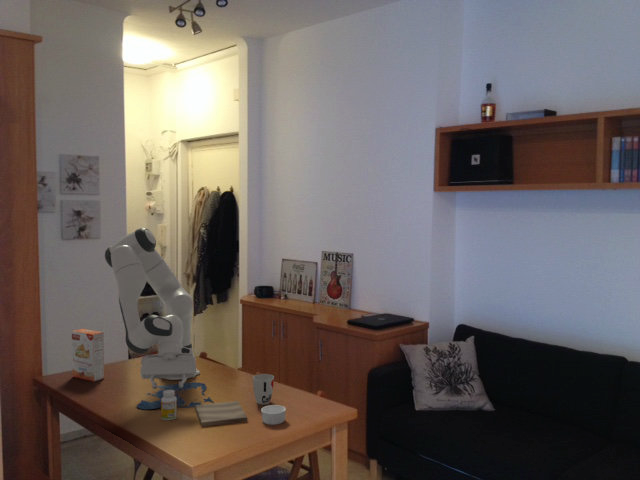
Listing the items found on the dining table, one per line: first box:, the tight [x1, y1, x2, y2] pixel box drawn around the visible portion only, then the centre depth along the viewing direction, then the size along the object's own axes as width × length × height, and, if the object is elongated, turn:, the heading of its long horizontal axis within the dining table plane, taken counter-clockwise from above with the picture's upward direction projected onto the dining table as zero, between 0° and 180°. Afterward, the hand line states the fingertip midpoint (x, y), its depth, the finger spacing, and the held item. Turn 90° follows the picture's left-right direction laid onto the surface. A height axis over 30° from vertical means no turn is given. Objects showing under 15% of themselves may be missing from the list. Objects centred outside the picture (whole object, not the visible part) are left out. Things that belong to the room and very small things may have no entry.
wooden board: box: [194, 400, 248, 427], centre depth 212 cm, size 18×16×2 cm
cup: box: [252, 373, 275, 405], centre depth 226 cm, size 8×8×10 cm
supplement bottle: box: [160, 390, 178, 421], centre depth 209 cm, size 5×5×10 cm
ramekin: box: [260, 404, 287, 426], centre depth 207 cm, size 9×9×4 cm
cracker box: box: [71, 328, 105, 382], centre depth 256 cm, size 14×6×21 cm, turn 60°
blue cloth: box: [136, 381, 214, 410], centre depth 234 cm, size 27×29×1 cm
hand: (167, 387), depth 213 cm, fingers open, 8 cm apart
